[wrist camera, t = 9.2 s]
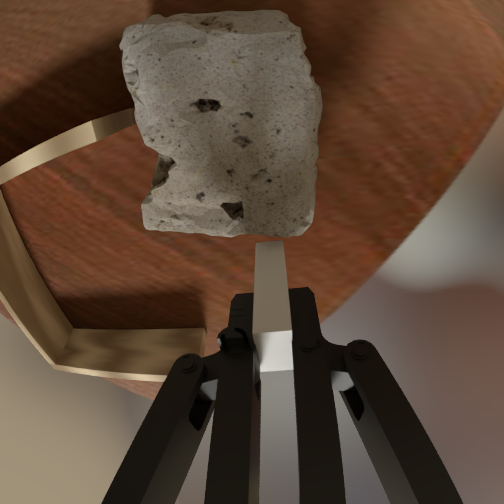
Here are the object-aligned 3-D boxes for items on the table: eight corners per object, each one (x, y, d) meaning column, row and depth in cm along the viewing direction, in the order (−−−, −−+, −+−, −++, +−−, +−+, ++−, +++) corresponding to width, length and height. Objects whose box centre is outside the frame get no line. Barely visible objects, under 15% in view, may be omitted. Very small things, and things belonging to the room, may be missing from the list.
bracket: (72, 334, 26) (54, 369, 22) (-11, 175, 16) (-49, 201, 12) (207, 334, 24) (199, 382, 20) (134, 106, 14) (91, 120, 10)
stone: (177, 243, 19) (327, 209, 18) (151, 293, 14) (356, 250, 13) (119, 55, 13) (279, 7, 12) (68, 39, 8) (291, -36, 7)
